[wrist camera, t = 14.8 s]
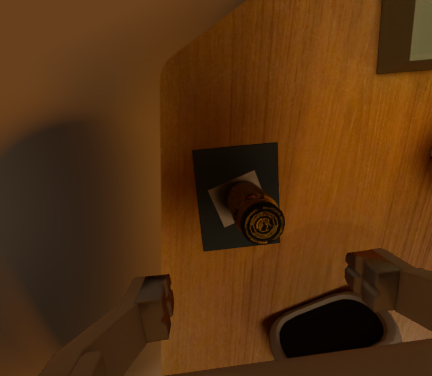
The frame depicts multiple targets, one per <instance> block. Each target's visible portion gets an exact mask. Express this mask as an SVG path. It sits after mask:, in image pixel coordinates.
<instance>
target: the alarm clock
mask: <svg viewBox="0 0 432 376" xmlns="http://www.w3.org/2000/svg"><path fill="white" fill-rule="evenodd" d="M269 343H270V348H271V352H272V355H273V357H274V359H275V360H280V359H288V358H295V357H302V356H309V355H316V354H323V353H330V352H337V351H345V350H352V349H359V348H366V347H374V346H381V345H388V344H396V343H402V339H401V335H400V331H399V327H398V325H397V323H396V322H395V320H394V319H393V317H392V315H391V314H390V313H389V312H388V311H379V312H374V311H373V310H372V309H371V308H370V307H369V306H368V305H367V304H366V303H365V302H364V301H363V300H362V298H361V295H360V294H358V293H356V292H347V291H345V292H341V293H338V294H337V293H336V292H335V293H333V294H330V295H328V296H325V297H323V298H320V299H318V300H315V301H313V302H310V303H308V304H305V305H303V306H300V307H298V308H295V309H292V310H290V311H287V312H285V313H283V315H282V316H281V317H279V318H277V319H276V320H275V322H274V323H273V324H272V326H271V329H270V332H269Z"/></svg>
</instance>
